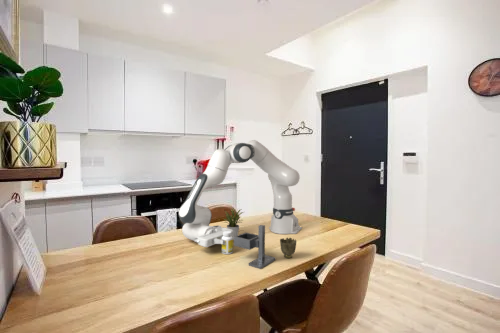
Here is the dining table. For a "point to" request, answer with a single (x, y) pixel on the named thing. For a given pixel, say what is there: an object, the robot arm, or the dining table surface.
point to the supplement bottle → (227, 243)
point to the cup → (288, 247)
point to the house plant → (233, 222)
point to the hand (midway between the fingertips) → (228, 240)
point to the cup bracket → (254, 241)
